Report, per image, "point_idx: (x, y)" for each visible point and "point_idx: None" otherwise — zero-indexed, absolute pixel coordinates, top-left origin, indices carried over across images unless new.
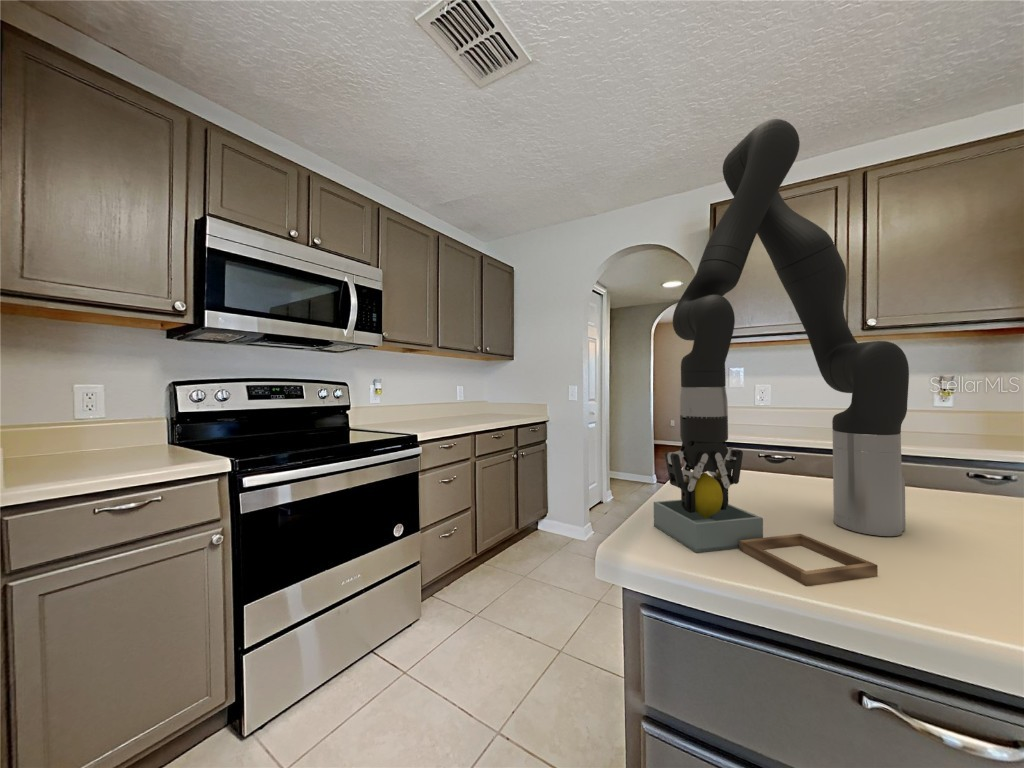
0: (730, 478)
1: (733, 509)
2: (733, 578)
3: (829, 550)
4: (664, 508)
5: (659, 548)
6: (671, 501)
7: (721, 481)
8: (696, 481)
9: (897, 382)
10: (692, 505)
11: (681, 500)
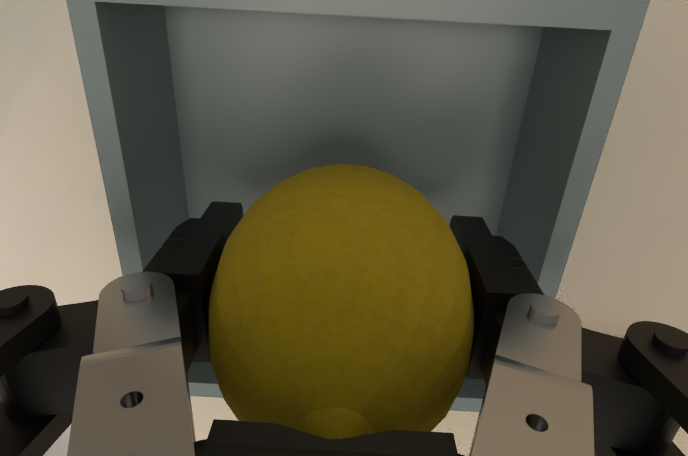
0: (601, 437)
1: (538, 257)
2: (202, 439)
3: (594, 453)
4: (96, 135)
5: (65, 238)
6: (222, 7)
7: (476, 427)
8: (226, 401)
9: None
10: None
11: (166, 241)
